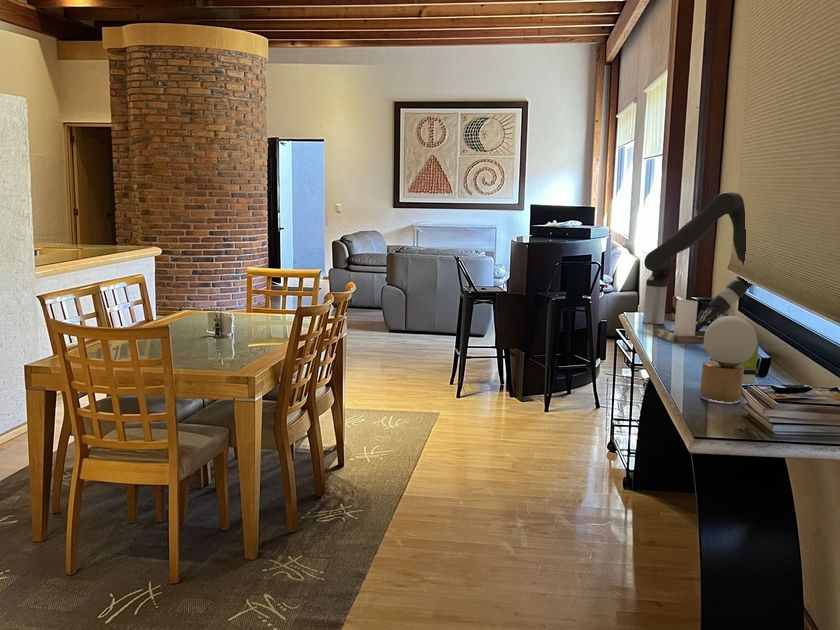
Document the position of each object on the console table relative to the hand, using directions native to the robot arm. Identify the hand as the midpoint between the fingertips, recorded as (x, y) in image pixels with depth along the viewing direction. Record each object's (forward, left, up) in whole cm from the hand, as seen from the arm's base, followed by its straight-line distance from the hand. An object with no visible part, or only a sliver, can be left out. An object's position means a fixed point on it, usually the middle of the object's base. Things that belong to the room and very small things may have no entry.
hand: (694, 330), depth 328 cm
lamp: (+94, -44, -4) cm, 104 cm away
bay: (0, -1, -4) cm, 4 cm away
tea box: (+69, -26, -4) cm, 74 cm away
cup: (0, -5, -4) cm, 6 cm away
